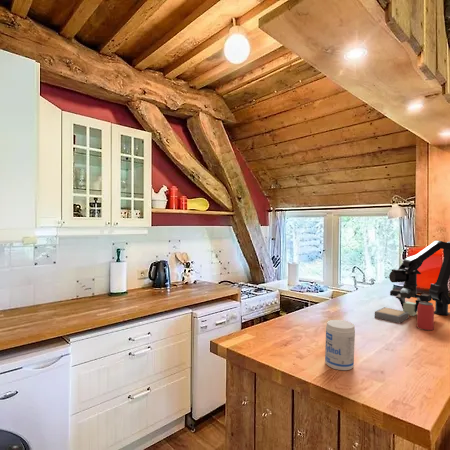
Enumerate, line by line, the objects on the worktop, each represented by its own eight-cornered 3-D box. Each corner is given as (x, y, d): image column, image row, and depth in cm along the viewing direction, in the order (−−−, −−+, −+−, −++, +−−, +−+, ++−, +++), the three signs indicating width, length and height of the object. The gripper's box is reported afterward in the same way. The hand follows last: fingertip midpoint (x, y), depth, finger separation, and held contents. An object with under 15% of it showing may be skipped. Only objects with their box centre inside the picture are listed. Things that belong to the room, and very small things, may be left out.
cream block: (406, 312, 178) (406, 301, 178) (416, 314, 175) (416, 303, 174) (403, 314, 175) (403, 302, 175) (413, 316, 171) (413, 304, 171)
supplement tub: (320, 365, 114) (321, 324, 114) (331, 356, 121) (331, 317, 121) (348, 374, 108) (349, 330, 107) (358, 364, 115) (358, 323, 115)
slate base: (384, 312, 177) (384, 307, 177) (408, 318, 168) (408, 311, 168) (374, 317, 169) (374, 311, 169) (399, 323, 160) (399, 316, 160)
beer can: (436, 331, 149) (436, 305, 148) (420, 330, 150) (420, 304, 150) (430, 326, 155) (430, 301, 155) (414, 325, 156) (415, 300, 156)
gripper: (386, 281, 176) (385, 310, 176) (425, 287, 162) (424, 318, 162) (394, 278, 183) (393, 306, 184) (432, 284, 169) (431, 314, 170)
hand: (409, 311), depth 175 cm, fingers open, 6 cm apart
